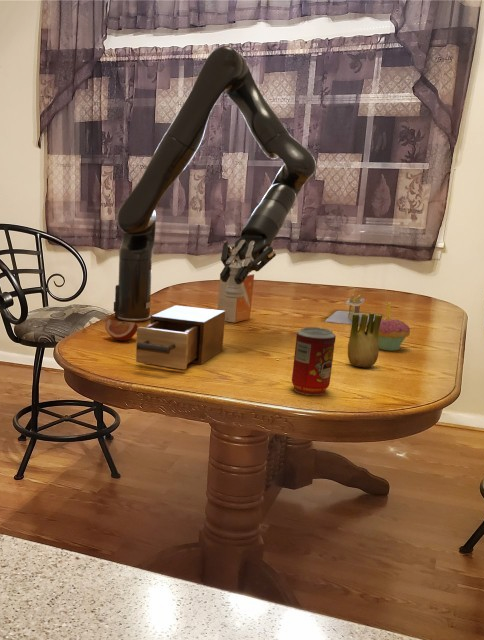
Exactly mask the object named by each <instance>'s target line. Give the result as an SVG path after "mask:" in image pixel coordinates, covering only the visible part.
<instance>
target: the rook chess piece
mask: <svg viewBox="0 0 484 640" xmlns="http://www.w3.org/2000/svg"><path fill="white" fill-rule="evenodd" d="M241 266H243V261H242V262H238V263H237V262H235V263H234V261H233V262H231V264H230V266H229V267H230V269H231V271H230V280H229V284H228V286H227V288H226V289H225V292H226V293H225V294H224V295H225V296H226V297H228V298H242V297H243V296H244V295H243V294H242V293H243V292H244V290H243V289H242V286H241V284H236V282H235V280H234V278H235V276H236V275H237V273H238V271H239V270H240V268H241Z"/></svg>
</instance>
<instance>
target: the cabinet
mask: <svg viewBox="0 0 484 640" xmlns="http://www.w3.org/2000/svg"><path fill="white" fill-rule="evenodd" d="M158 320H160V321H168V322H176V323H185V324H193V325H201V326H200V339H199V355H198V358H196V359H194V360H193V361H191V362H190V363H189V364H194V365H195V364H196V365H203V364H205V363H206V362H207V361H209V360H210V359H211V358H213V357H214V356H216V355H217V354H219V353H220V352H221V351H223V348H224V347H223V346H224V335H225V333H224V332H225V322H226V321H225V311H223V310H218V309H214V308H204V307H195V306H184V305H175V304H174V305H172V306H171V307H168V308H165V309H164V310H161V311H159V312H157V313H155V314H152V315H150V324H152V323H154V322H156V321H158Z"/></svg>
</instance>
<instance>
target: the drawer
mask: <svg viewBox="0 0 484 640" xmlns="http://www.w3.org/2000/svg"><path fill="white" fill-rule="evenodd" d="M200 326H201V325H193V324H185V323H176V322H168V321H160V320H158V321H156V322H154V323H152V324H151V323H149V324H148V325H145V326H138V327H137V332H136V351H135V353H136V354H135V362H136V363H139V364H146V365H151V366H158V367H165V368H171V369H177V370H186V369H187V368H188V364H191V363H190V362H191V361H193V360H194V359H196V358H198V355H199V339H200Z"/></svg>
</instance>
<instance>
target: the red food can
mask: <svg viewBox="0 0 484 640" xmlns="http://www.w3.org/2000/svg"><path fill="white" fill-rule="evenodd" d="M335 344H336V335H335V333H334V332H333V330H330V329H329V328H321V327H316V326H315V327H313V326H307V327H303V328H301V329H299V330H298V331H297V332H296V339H295V347H294V356H293V364H292V365H293V366H292V375H291V383H292V385H293V388H294V389H293V390H294V391H295V392H296V393H298V394H301V395H306V396H321V395H324V394H325V393H326V390H327V389H328V388H329V386H330V384H331V377H332V376H331V375H332V367H333V361H334V353H335Z"/></svg>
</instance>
